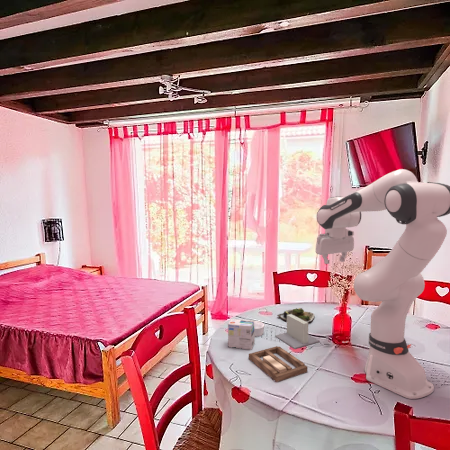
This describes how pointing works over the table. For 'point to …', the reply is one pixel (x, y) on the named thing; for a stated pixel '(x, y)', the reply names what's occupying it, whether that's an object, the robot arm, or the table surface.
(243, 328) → the light bulb box
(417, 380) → the robot arm
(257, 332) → the ramekin
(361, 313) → the table surface
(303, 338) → the upright cream panel
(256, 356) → the walnut rack
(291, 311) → the salad plate
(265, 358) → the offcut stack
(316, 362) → the table surface
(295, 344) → the grey rubber mat
